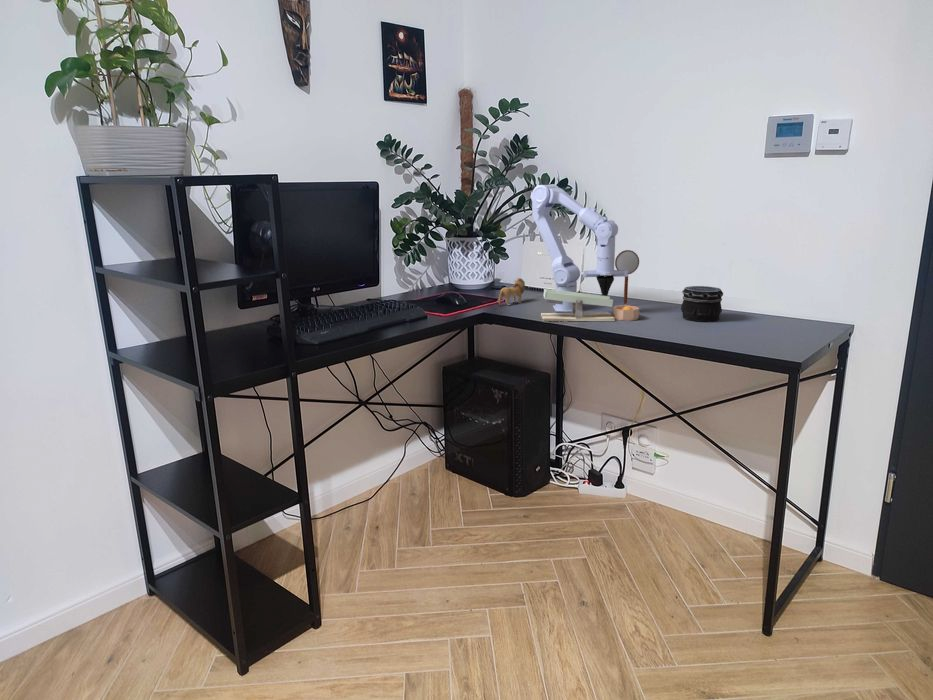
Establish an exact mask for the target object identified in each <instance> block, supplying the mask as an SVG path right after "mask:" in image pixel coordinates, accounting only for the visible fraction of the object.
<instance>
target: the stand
mask: <svg viewBox="0 0 933 700" xmlns="http://www.w3.org/2000/svg"><path fill="white" fill-rule="evenodd" d="M540 317H541V320H542V319H543V320H542V322H543V321H559V322H558V323H561V322H560V321H564V322H563V323H568V322H567V321H616V319H615V318H614V317H613V314H612V313H610V312H607V311H605V312H583V300H576V303H574V302H573V304H572V312H549V313H548V312H541V313H540ZM565 321H566V322H565Z"/></svg>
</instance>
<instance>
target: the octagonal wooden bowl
mask: <svg viewBox="0 0 933 700" xmlns="http://www.w3.org/2000/svg"><path fill="white" fill-rule="evenodd" d="M626 306H629V307H631V308H632V309H633V310H622V309H623V308H624V307H626ZM612 316H613V317H614V318H615V321H616V320H617V321H621V320H623V321H625V322H626V321H627V322H628V321H629V322H631V321H637V320H639V318H640V307H638V306H636V305H629V304H628V305H627V304H626V305H615V306H612Z"/></svg>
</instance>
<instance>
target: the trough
mask: <svg viewBox="0 0 933 700" xmlns="http://www.w3.org/2000/svg"><path fill="white" fill-rule="evenodd" d="M542 295H543V299H545V301H546V303H547V304H553V305H554V304H555V305H556V304H563V301H566V302H574V303H576V300H583V304H584V305H591V306H602V307H610V308H613V306H614V305H613V304H614V299H611V296H609V295H607V296H602V294H601V295H599V294H593V293H591V294H590V293H585V292H584V293H583V292H577V293H575V292H567V291H559V290H556V289H548V288H544V289H543V294H542ZM583 304H582V305H583Z"/></svg>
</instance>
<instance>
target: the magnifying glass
mask: <svg viewBox="0 0 933 700" xmlns="http://www.w3.org/2000/svg"><path fill="white" fill-rule="evenodd" d="M639 265H640V258H639V256H638V254H637V253H636V252H635V251H633V250H630V249H625V250H623V251H621V252H619V253H618V254H617V256H616V258H615V260H614V267H615V270H627V271H628V275H631V274H633V273H635V272H636V271H637V269H638V268H639ZM628 286H629V276H628V277H624V286H623V287H624V289H623V304H624V305H627V304H628V293H629V292H628V288H629V287H628Z"/></svg>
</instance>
